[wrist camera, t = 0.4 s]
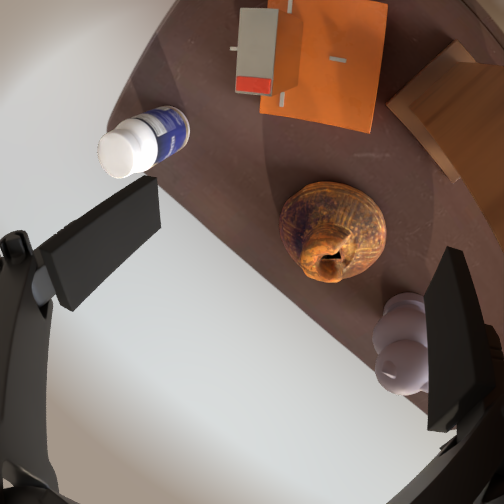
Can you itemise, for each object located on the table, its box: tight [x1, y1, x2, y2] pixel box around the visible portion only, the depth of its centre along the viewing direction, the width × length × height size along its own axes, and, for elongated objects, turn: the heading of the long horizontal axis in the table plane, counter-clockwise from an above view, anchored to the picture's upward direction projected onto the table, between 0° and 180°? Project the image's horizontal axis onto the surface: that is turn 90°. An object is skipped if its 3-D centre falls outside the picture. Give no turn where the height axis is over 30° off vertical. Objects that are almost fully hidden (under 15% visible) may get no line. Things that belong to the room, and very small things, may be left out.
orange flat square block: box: [230, 0, 388, 134], centre depth 24 cm, size 12×13×3 cm
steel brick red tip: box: [235, 8, 304, 97], centre depth 20 cm, size 6×2×8 cm, turn 176°
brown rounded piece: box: [279, 181, 387, 283], centre depth 32 cm, size 12×12×7 cm
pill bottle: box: [97, 106, 190, 178], centre depth 31 cm, size 6×6×10 cm
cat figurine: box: [373, 293, 429, 395], centre depth 33 cm, size 8×8×12 cm
